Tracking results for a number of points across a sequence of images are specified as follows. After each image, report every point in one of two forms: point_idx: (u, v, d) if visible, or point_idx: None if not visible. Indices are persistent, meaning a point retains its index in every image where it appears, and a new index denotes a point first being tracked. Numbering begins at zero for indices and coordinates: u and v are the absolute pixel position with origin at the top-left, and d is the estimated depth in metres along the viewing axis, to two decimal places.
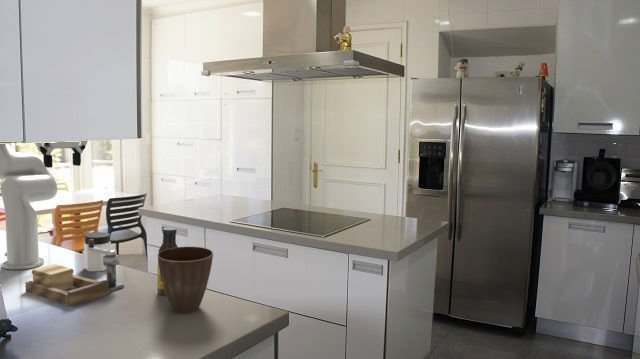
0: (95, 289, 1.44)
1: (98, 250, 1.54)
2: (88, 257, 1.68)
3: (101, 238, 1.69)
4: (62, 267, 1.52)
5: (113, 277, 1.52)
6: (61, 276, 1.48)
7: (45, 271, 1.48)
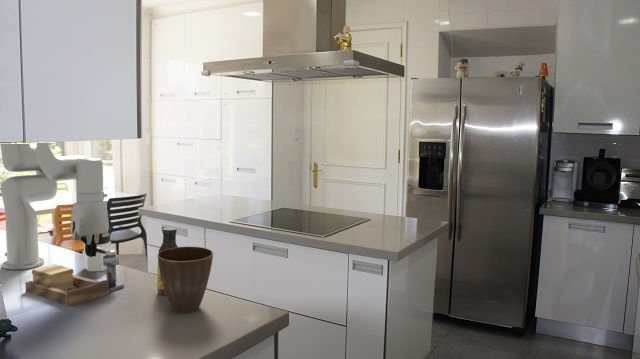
0: (95, 289, 1.44)
1: (99, 250, 1.54)
2: (88, 257, 1.68)
3: (101, 238, 1.69)
4: (62, 267, 1.52)
5: (113, 277, 1.52)
6: (61, 276, 1.48)
7: (45, 271, 1.48)
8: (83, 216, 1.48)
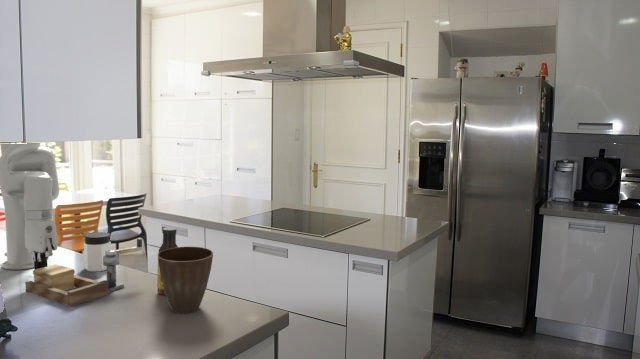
0: (95, 289, 1.44)
1: None
2: (88, 257, 1.68)
3: (101, 238, 1.69)
4: (63, 267, 1.52)
5: (113, 277, 1.52)
6: (62, 276, 1.48)
7: (46, 271, 1.48)
8: (26, 230, 1.51)
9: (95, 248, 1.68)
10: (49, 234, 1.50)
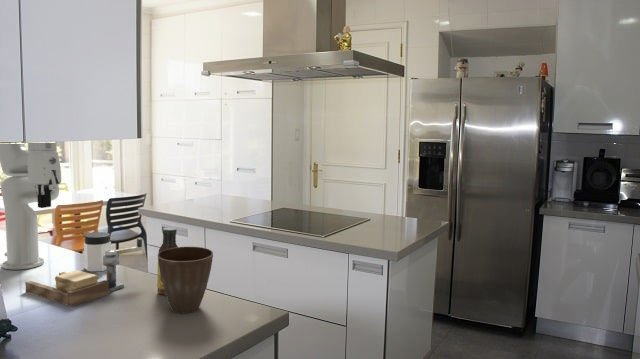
0: (95, 289, 1.44)
1: None
2: (88, 257, 1.68)
3: (101, 238, 1.69)
4: (86, 273, 1.47)
5: (113, 277, 1.52)
6: (86, 283, 1.43)
7: (69, 278, 1.43)
8: (29, 163, 1.48)
9: (95, 248, 1.68)
10: (53, 166, 1.46)
